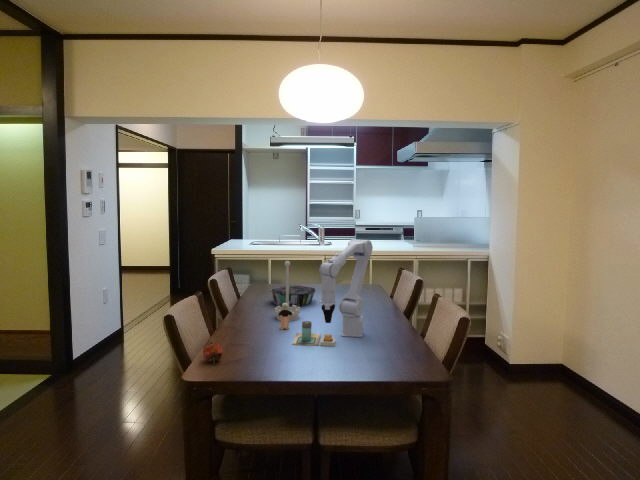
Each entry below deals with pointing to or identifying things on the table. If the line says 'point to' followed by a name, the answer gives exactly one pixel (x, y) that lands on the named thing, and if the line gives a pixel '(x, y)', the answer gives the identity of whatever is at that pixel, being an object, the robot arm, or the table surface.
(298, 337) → the picture board
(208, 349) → the pomegranate
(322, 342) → the button housing
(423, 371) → the table surface
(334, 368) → the table surface
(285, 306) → the grandmother figurine
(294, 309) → the flag stand
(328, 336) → the button
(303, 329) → the green grey cylinder
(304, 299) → the decorative bowl
